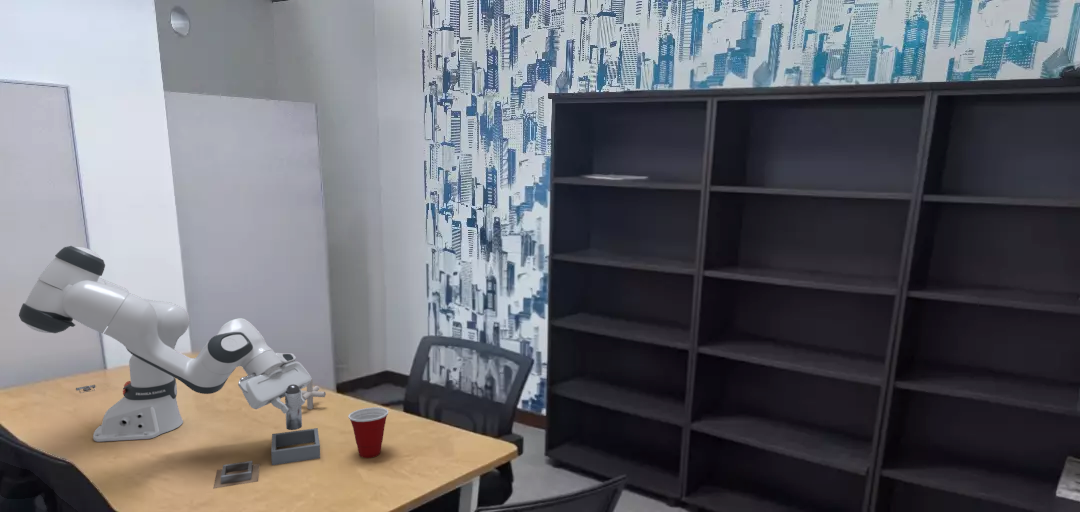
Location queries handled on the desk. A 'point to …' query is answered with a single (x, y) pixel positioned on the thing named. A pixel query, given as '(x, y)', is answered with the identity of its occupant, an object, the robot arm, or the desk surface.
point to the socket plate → (237, 474)
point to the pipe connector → (311, 394)
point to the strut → (293, 407)
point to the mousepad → (86, 388)
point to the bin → (295, 452)
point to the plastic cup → (369, 430)
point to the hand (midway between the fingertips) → (295, 408)
